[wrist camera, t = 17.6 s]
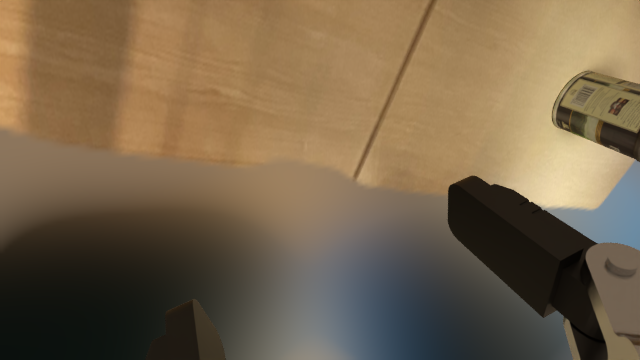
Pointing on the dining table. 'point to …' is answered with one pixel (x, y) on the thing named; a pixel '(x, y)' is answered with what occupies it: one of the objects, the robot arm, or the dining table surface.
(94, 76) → the dining table surface
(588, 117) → the coffee can
